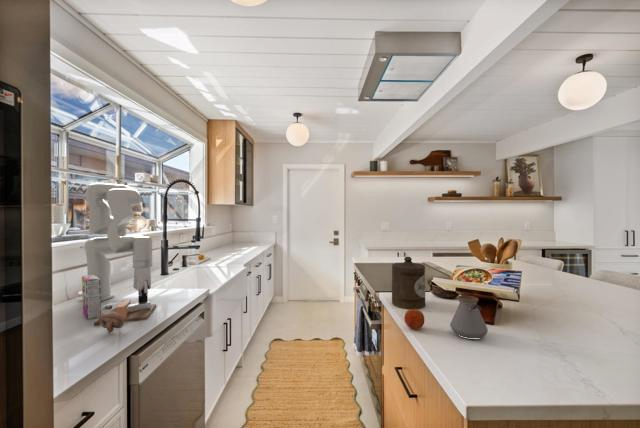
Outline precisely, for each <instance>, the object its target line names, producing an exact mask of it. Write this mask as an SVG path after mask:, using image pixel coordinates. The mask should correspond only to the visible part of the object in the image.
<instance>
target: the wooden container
mask: <svg viewBox="0 0 640 428" xmlns="http://www.w3.org/2000/svg"><path fill="white" fill-rule="evenodd" d="M412 259H413V258H412V257H411V256H405V257H404V258H403V260H404V261H403V262H395V263H392V265H391V304H392V305H393V306H395V307H396V308H400V309H405V310H410V309H416V310H419V309H422V308H425V307H426V266H425V264H421V263H417V262H413V261H412Z"/></svg>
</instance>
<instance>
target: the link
mask: <svg viewBox="0 0 640 428" xmlns="http://www.w3.org/2000/svg"><path fill="white" fill-rule="evenodd" d="M151 304H152V302H151V301H150V300H148V301H145V302H140V303H139V302H135V303H132V304H131V303H130V304H129V305H128V306H127V313H129V312H134V311H138V310H143V309H147V308H151ZM116 307H117V306H113V305H112V304H109V305H105V307H104V308H101V315H102V314H104V313H108V312H116Z"/></svg>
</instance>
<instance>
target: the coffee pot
mask: <svg viewBox="0 0 640 428" xmlns="http://www.w3.org/2000/svg"><path fill="white" fill-rule="evenodd" d="M456 299H457V300H458V302H459V304H458V306H457V309H456V311H455V313H454V315H453V316H452V318H451V319H452V320H451V321H450V323H449V326H450V328H451V330H452V331H453V333H455V334H456V335H457V334H458V335H460V336H463V337H467V338H481V337H482V338H484V337H485V336H486V335H487V333H488V327H487V325H486V322H485V320H484V318H483V316H482V314H481V312H480V311H481V307H480V306H479V305H478V302H479V299H480V298H478V297H476V296H473V295H472V296H471V295H465V294H464V295H458V296H457V297H456ZM478 307H479V308H478ZM458 335H457V336H458ZM482 338H481V339H482Z"/></svg>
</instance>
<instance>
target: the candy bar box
mask: <svg viewBox="0 0 640 428" xmlns="http://www.w3.org/2000/svg"><path fill="white" fill-rule="evenodd" d="M81 292H82V296H81V298H82V314H83V316H84V317H85V318H86V319H87V320H92V319H96V318H99V317H100V316H101V309H102V304H101V303H102V302H101V294H100V278H98V277H97V276H96V275H90V276H87V275H84V276H81Z"/></svg>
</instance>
